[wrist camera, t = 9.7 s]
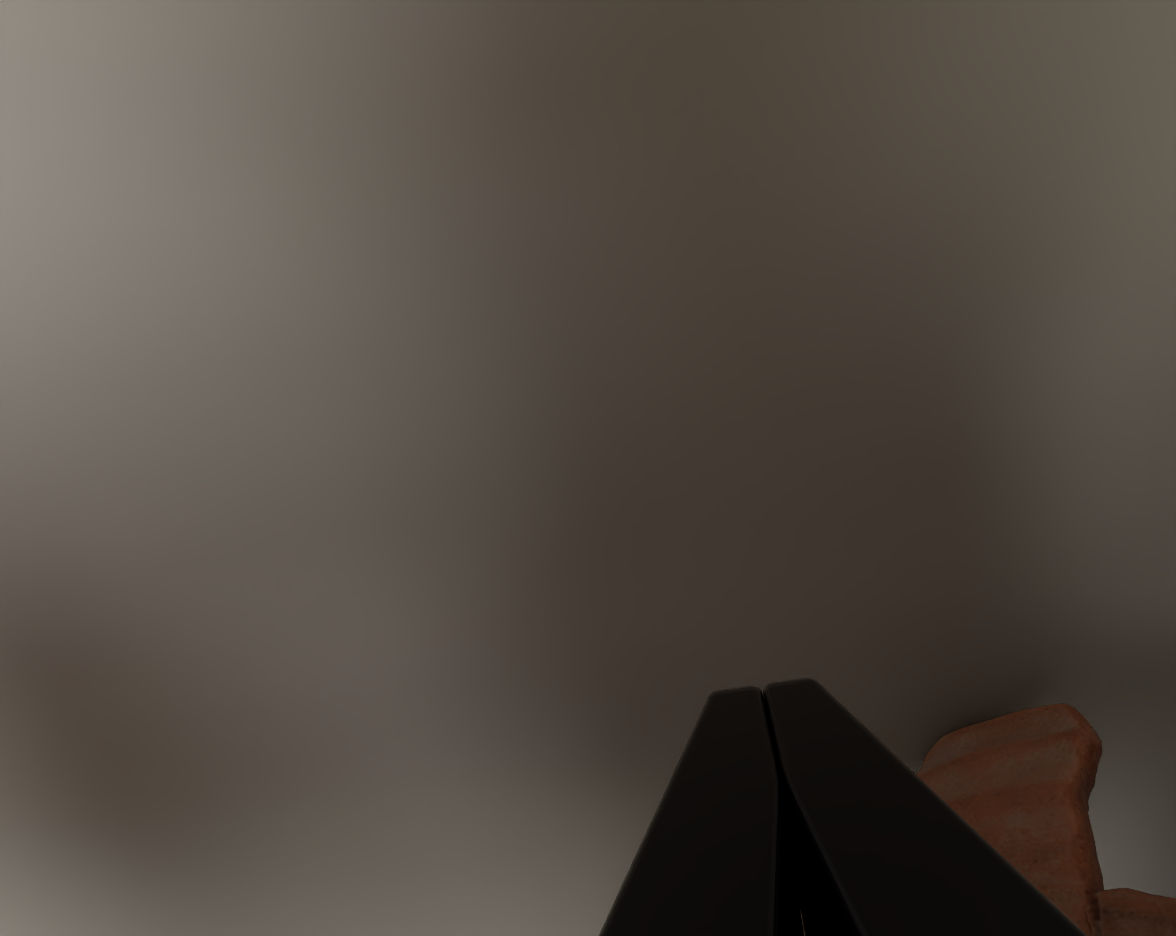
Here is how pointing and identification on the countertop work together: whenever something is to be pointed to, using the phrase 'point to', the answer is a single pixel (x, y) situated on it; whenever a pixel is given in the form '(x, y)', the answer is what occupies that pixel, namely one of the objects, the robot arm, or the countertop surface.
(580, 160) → the countertop surface
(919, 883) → the robot arm
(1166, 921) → the pottery mug
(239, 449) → the countertop surface
